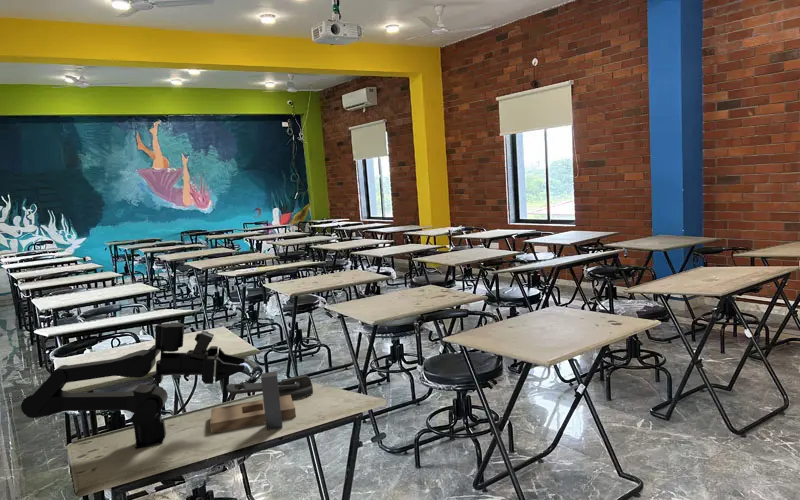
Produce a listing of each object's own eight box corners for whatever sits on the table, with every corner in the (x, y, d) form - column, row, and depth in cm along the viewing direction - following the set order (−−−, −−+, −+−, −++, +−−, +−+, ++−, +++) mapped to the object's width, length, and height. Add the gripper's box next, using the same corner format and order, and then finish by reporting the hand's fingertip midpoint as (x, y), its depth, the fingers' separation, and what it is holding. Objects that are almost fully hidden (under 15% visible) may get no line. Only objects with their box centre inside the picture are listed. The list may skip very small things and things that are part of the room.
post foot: (211, 432, 148) (210, 423, 148) (212, 417, 159) (211, 408, 159) (295, 416, 154) (294, 408, 154) (291, 403, 165) (290, 394, 165)
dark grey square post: (266, 430, 146) (260, 377, 145) (267, 424, 150) (261, 373, 149) (282, 428, 147) (276, 375, 146) (282, 422, 151) (276, 371, 150)
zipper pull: (224, 384, 168) (306, 367, 178) (227, 405, 168) (308, 387, 179) (229, 392, 160) (314, 373, 170) (231, 414, 160) (316, 395, 171)
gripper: (179, 338, 137) (246, 339, 141) (187, 327, 155) (246, 328, 159) (177, 384, 137) (243, 384, 141) (185, 367, 155) (244, 368, 159)
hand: (244, 364), depth 150 cm, fingers open, 9 cm apart
